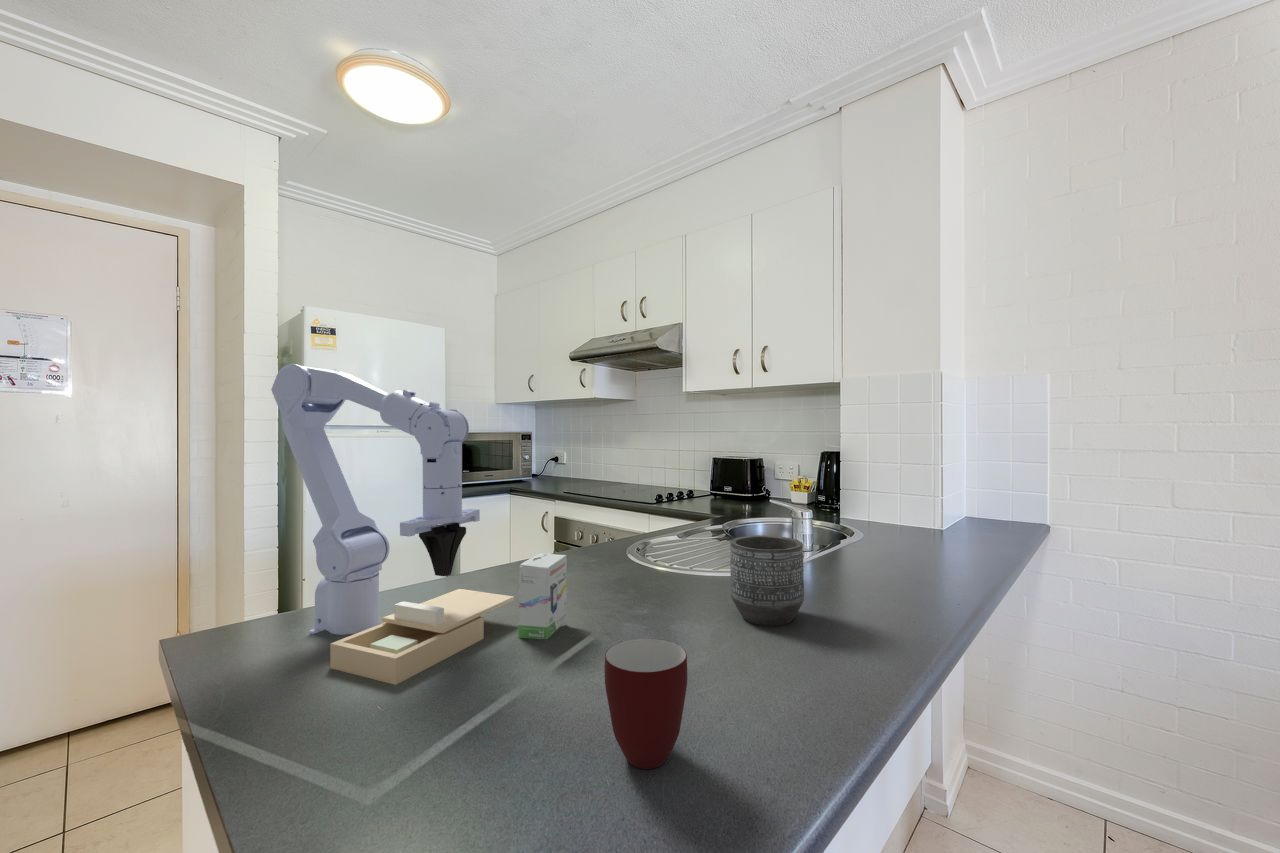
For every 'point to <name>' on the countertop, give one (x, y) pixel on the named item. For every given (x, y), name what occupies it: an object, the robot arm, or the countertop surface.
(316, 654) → the countertop surface
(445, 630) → the mailer lid
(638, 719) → the mug
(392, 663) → the tray
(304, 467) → the robot arm
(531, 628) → the ink box
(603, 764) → the countertop surface
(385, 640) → the soap bar
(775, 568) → the planter
